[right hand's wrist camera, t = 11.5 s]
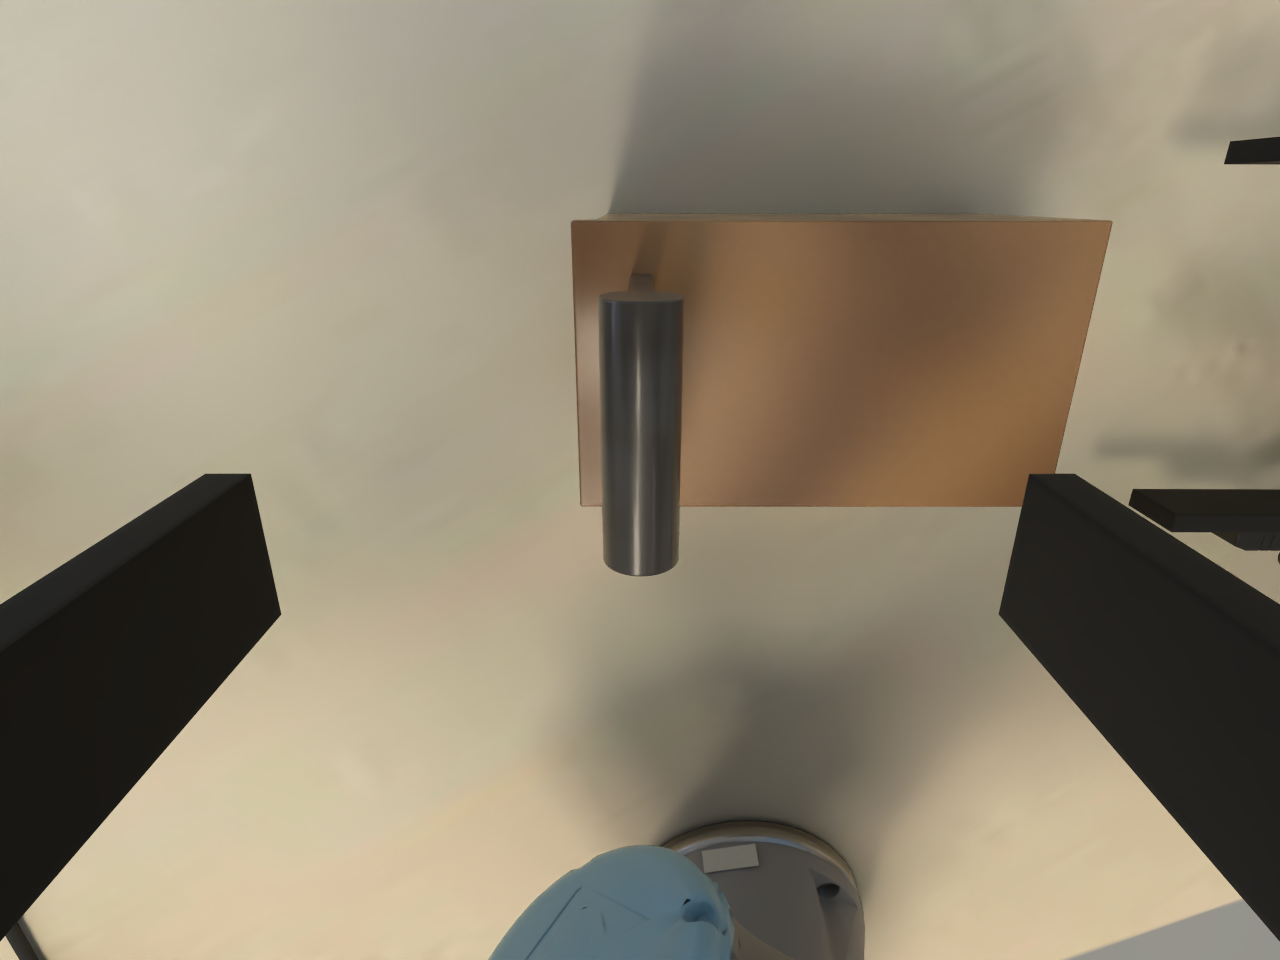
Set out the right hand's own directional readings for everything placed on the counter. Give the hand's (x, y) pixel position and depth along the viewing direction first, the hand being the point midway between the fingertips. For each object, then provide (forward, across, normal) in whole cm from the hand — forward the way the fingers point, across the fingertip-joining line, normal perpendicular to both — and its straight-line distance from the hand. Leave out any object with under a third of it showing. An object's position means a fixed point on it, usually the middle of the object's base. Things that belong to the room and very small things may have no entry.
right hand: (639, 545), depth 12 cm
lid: (+14, -6, 0) cm, 15 cm away
